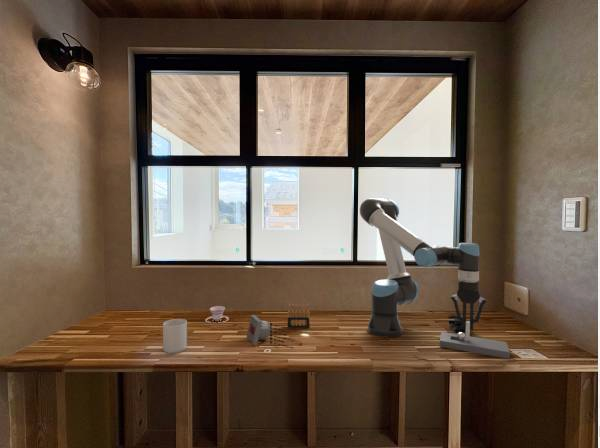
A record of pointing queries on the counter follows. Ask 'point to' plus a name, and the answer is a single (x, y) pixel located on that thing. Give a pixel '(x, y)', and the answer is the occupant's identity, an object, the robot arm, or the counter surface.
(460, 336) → the steel ball
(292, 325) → the ammunition clip
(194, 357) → the counter surface
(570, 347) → the counter surface
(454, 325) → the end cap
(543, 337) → the counter surface
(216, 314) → the teacup
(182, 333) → the mug
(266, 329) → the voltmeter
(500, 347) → the hole plate
